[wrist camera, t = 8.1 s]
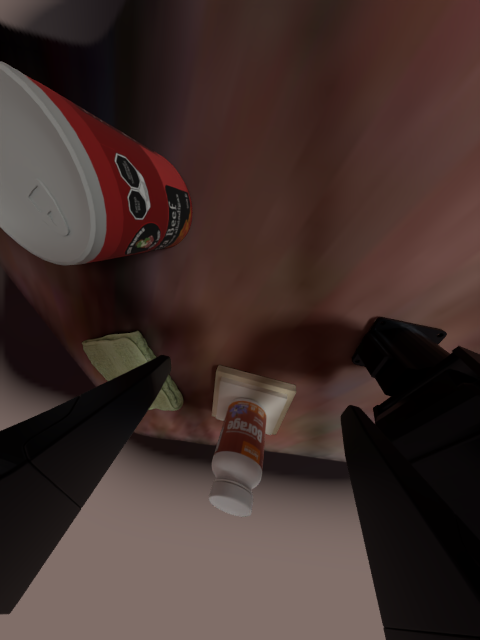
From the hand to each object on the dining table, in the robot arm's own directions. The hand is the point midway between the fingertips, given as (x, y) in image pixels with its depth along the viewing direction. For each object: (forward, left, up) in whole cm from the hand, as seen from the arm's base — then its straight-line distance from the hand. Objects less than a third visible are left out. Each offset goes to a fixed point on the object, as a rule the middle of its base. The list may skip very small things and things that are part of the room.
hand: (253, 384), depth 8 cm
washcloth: (+20, +20, -14) cm, 31 cm away
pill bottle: (-1, +19, -11) cm, 22 cm away
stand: (-1, +19, -13) cm, 23 cm away
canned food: (+13, -7, -13) cm, 20 cm away
